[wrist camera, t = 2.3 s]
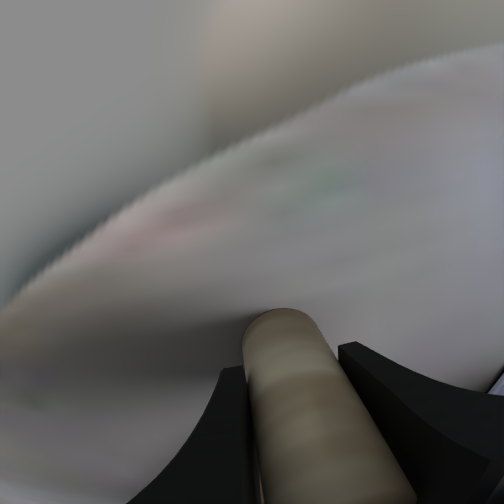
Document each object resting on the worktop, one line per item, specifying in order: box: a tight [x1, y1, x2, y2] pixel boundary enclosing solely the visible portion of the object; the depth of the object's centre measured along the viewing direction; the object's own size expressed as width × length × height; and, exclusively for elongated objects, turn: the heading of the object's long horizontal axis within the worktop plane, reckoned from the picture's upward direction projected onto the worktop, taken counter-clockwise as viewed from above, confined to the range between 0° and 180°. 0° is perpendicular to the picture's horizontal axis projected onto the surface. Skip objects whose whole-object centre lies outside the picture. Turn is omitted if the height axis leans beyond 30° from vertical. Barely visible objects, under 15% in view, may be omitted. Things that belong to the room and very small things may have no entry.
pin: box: [242, 308, 417, 504], centre depth 8 cm, size 3×3×8 cm
